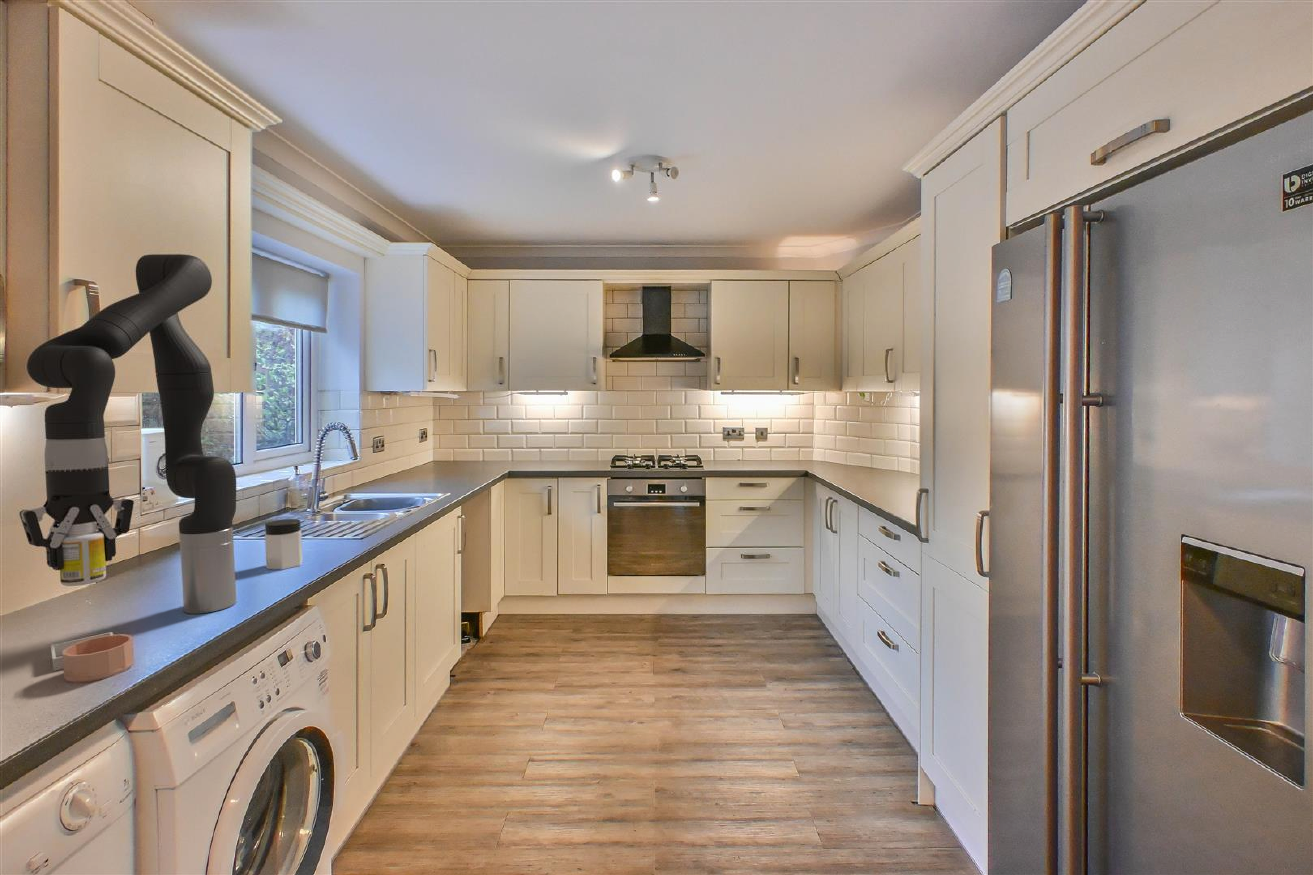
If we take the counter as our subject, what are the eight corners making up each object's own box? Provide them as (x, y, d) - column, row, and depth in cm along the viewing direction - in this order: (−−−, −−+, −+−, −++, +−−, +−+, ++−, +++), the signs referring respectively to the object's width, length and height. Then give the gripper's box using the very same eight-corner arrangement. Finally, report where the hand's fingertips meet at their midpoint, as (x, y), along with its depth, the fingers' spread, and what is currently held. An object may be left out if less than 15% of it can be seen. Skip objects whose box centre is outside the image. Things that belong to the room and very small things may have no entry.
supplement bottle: (104, 575, 103) (102, 517, 102) (107, 581, 99) (104, 522, 98) (59, 582, 99) (56, 522, 98) (60, 589, 95) (57, 527, 94)
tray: (51, 656, 104) (50, 645, 103) (112, 642, 109) (112, 631, 109) (53, 671, 98) (52, 659, 98) (117, 655, 104) (117, 644, 104)
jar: (295, 559, 165) (293, 517, 164) (309, 563, 161) (307, 521, 160) (259, 566, 158) (257, 523, 157) (273, 571, 153) (271, 527, 152)
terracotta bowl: (88, 661, 102) (86, 636, 101) (145, 656, 104) (143, 632, 103) (50, 685, 93) (48, 658, 93) (113, 679, 95) (111, 652, 95)
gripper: (122, 460, 106) (126, 552, 107) (7, 468, 93) (13, 572, 94) (141, 463, 102) (146, 557, 103) (24, 471, 89) (31, 579, 90)
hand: (82, 564), depth 98 cm, fingers closed on supplement bottle, 5 cm apart
